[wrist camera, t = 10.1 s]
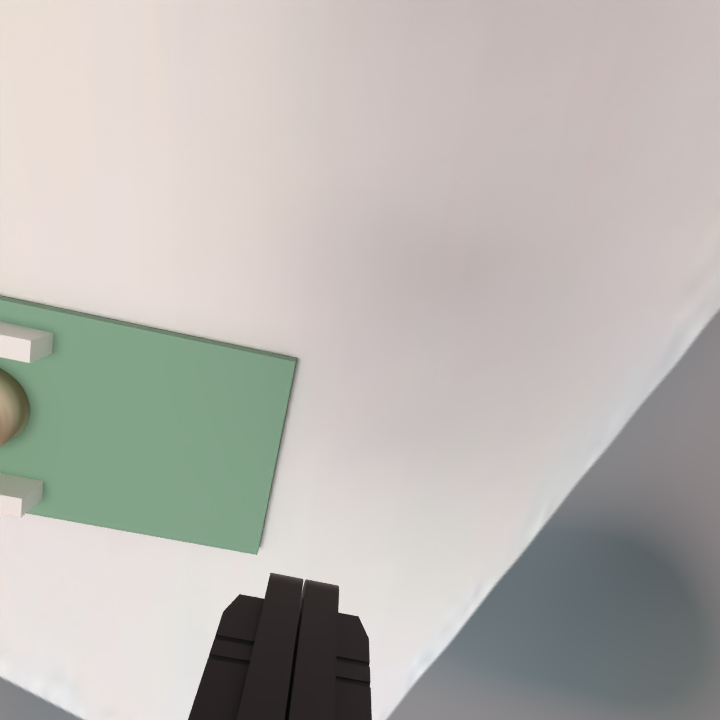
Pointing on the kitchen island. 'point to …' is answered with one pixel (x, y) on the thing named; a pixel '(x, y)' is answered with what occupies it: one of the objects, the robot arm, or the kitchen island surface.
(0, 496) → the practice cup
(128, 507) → the putting green
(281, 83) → the kitchen island surface
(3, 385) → the puck
